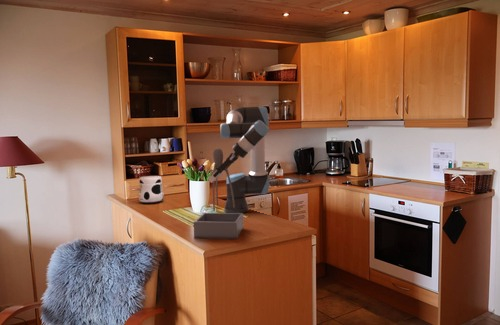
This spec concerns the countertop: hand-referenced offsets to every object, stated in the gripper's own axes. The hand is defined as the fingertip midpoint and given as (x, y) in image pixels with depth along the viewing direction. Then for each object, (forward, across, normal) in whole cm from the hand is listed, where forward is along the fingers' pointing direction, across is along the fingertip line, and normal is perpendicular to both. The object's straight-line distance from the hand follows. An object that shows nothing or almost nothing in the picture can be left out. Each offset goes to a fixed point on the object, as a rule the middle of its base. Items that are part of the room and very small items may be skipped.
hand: (211, 179), depth 209 cm
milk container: (+63, +78, +25) cm, 104 cm away
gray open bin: (+17, 0, -21) cm, 27 cm away
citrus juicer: (+8, 0, -13) cm, 15 cm away
